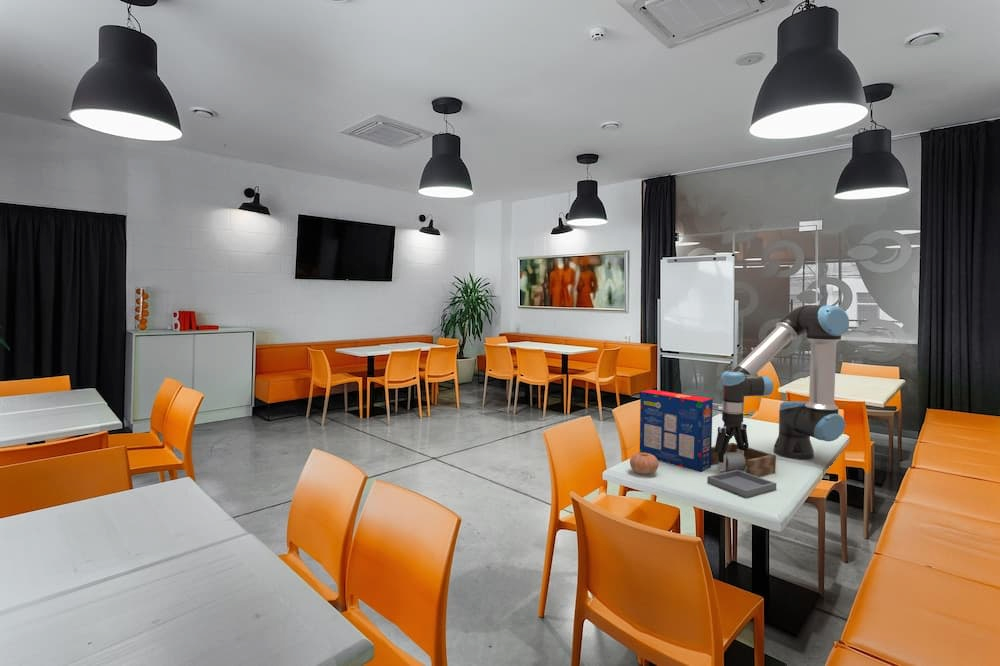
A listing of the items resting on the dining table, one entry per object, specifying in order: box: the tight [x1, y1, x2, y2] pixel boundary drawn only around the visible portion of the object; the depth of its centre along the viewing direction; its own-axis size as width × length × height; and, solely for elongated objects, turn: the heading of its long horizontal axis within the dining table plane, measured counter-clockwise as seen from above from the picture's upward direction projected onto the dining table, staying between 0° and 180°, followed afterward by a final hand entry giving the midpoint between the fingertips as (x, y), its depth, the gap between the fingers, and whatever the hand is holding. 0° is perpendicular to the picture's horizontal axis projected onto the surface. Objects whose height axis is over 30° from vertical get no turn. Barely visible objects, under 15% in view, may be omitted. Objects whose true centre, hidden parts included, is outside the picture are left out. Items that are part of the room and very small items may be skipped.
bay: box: [711, 442, 777, 478], centre depth 202 cm, size 15×20×7 cm
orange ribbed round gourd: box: [629, 452, 659, 476], centre depth 198 cm, size 11×11×8 cm
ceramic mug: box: [717, 452, 746, 473], centre depth 201 cm, size 11×8×8 cm
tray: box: [706, 470, 777, 499], centre depth 183 cm, size 16×16×2 cm
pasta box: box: [639, 389, 714, 473], centre depth 211 cm, size 28×8×28 cm, turn 40°
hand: (731, 468), depth 200 cm, fingers closed on ceramic mug, 9 cm apart
